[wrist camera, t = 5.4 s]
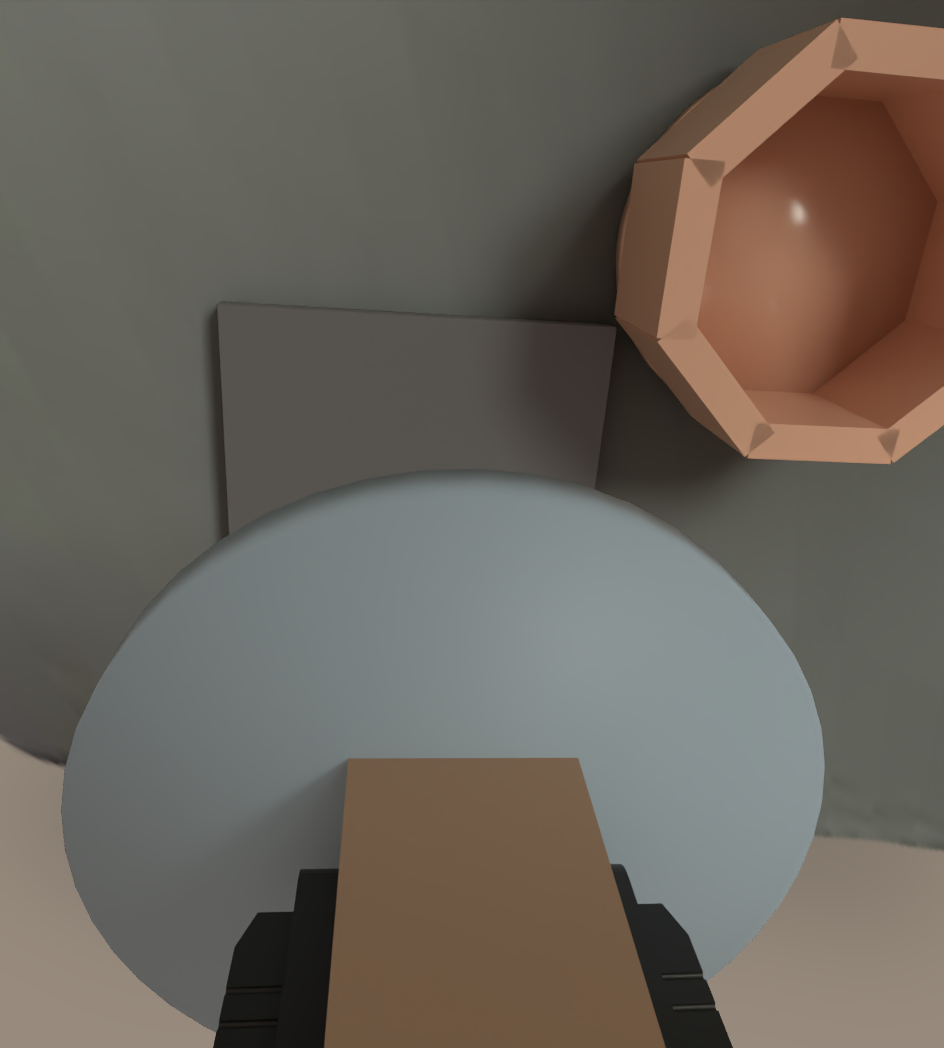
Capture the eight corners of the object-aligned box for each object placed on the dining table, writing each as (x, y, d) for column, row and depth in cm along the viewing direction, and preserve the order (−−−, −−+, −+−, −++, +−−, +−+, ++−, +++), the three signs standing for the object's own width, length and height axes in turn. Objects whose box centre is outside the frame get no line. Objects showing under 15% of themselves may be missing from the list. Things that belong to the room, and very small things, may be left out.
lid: (876, 483, 11) (1552, 936, 4) (718, 1009, 15) (944, 1606, 9) (32, 452, 10) (-662, 1006, 3) (129, 1032, 14) (-87, 1736, 8)
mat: (612, 324, 25) (616, 327, 24) (568, 651, 30) (571, 659, 29) (221, 301, 24) (217, 304, 23) (238, 647, 28) (235, 656, 28)
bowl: (986, 76, 23) (1132, 48, 19) (890, 421, 27) (991, 467, 23) (642, 42, 22) (709, 3, 17) (594, 407, 26) (638, 454, 21)
